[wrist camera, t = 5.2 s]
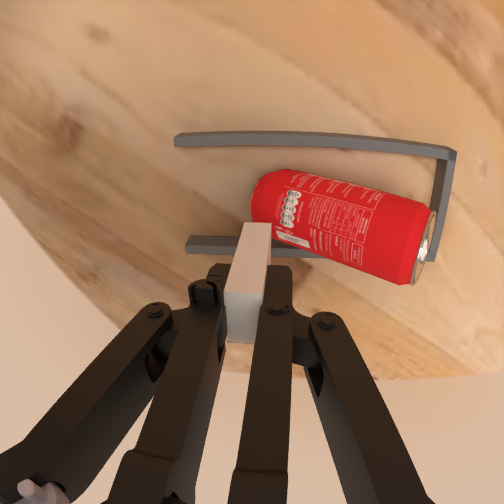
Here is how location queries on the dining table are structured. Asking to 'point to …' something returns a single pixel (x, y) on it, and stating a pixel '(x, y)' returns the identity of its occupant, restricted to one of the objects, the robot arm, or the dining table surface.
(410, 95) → the dining table surface
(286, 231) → the beverage can
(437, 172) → the grey u-shaped frame
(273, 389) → the robot arm
